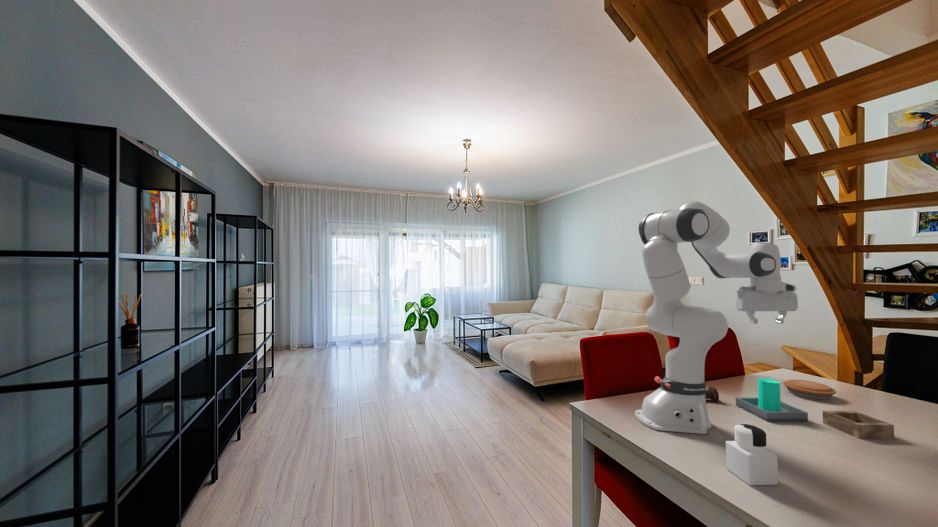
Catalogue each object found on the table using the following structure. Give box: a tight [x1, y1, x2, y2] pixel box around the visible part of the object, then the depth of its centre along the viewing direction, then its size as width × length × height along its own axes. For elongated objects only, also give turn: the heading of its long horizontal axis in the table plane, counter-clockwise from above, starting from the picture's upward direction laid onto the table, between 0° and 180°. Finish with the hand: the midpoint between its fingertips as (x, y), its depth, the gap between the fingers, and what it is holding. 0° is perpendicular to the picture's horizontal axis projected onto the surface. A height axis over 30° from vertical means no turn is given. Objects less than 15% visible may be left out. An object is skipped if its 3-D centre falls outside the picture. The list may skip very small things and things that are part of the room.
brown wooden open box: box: [822, 410, 895, 440], centre depth 107 cm, size 10×10×4 cm
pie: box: [782, 379, 837, 401], centre depth 138 cm, size 15×16×5 cm
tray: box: [735, 397, 809, 423], centre depth 120 cm, size 14×14×3 cm
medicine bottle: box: [725, 423, 779, 486], centre depth 83 cm, size 7×7×12 cm
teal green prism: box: [757, 375, 782, 412], centre depth 121 cm, size 6×6×12 cm
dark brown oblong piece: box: [705, 386, 720, 403], centre depth 134 cm, size 6×5×15 cm
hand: (766, 323), depth 126 cm, fingers open, 8 cm apart
